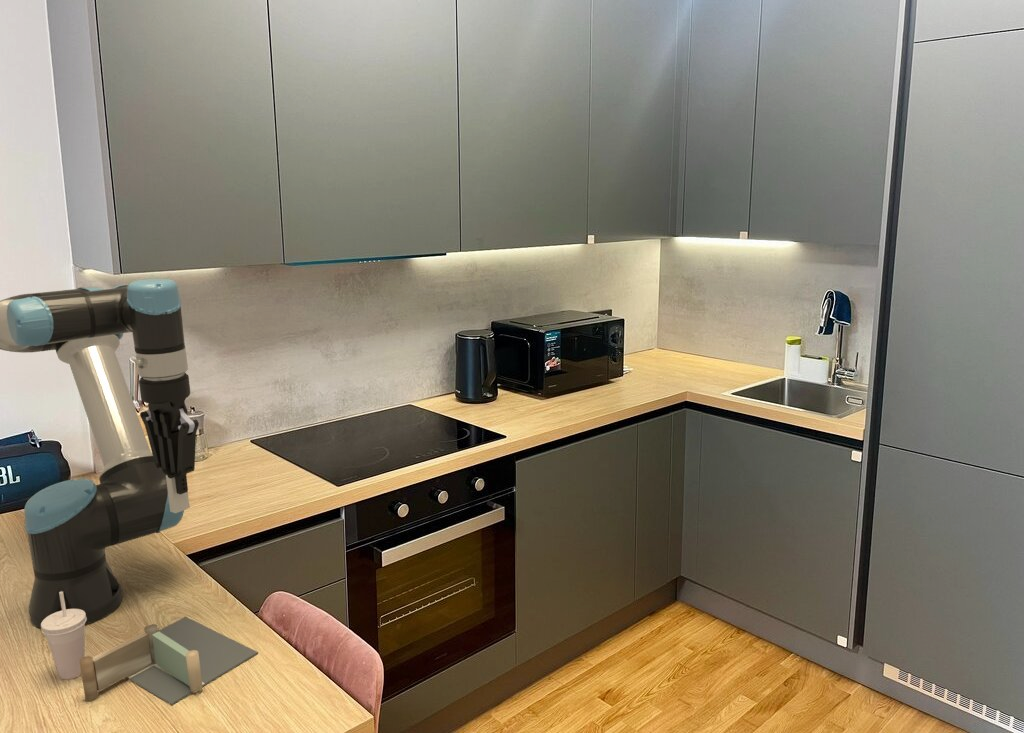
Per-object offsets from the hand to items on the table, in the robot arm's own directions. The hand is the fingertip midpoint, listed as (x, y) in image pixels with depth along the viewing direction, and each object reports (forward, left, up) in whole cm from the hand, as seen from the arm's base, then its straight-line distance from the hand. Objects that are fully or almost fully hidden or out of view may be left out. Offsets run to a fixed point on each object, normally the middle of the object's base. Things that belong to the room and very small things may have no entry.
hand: (180, 509), depth 139 cm
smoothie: (-5, -19, -23) cm, 30 cm away
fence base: (+4, -15, -22) cm, 27 cm away
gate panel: (+11, -10, -22) cm, 27 cm away
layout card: (+6, -7, -22) cm, 24 cm away
